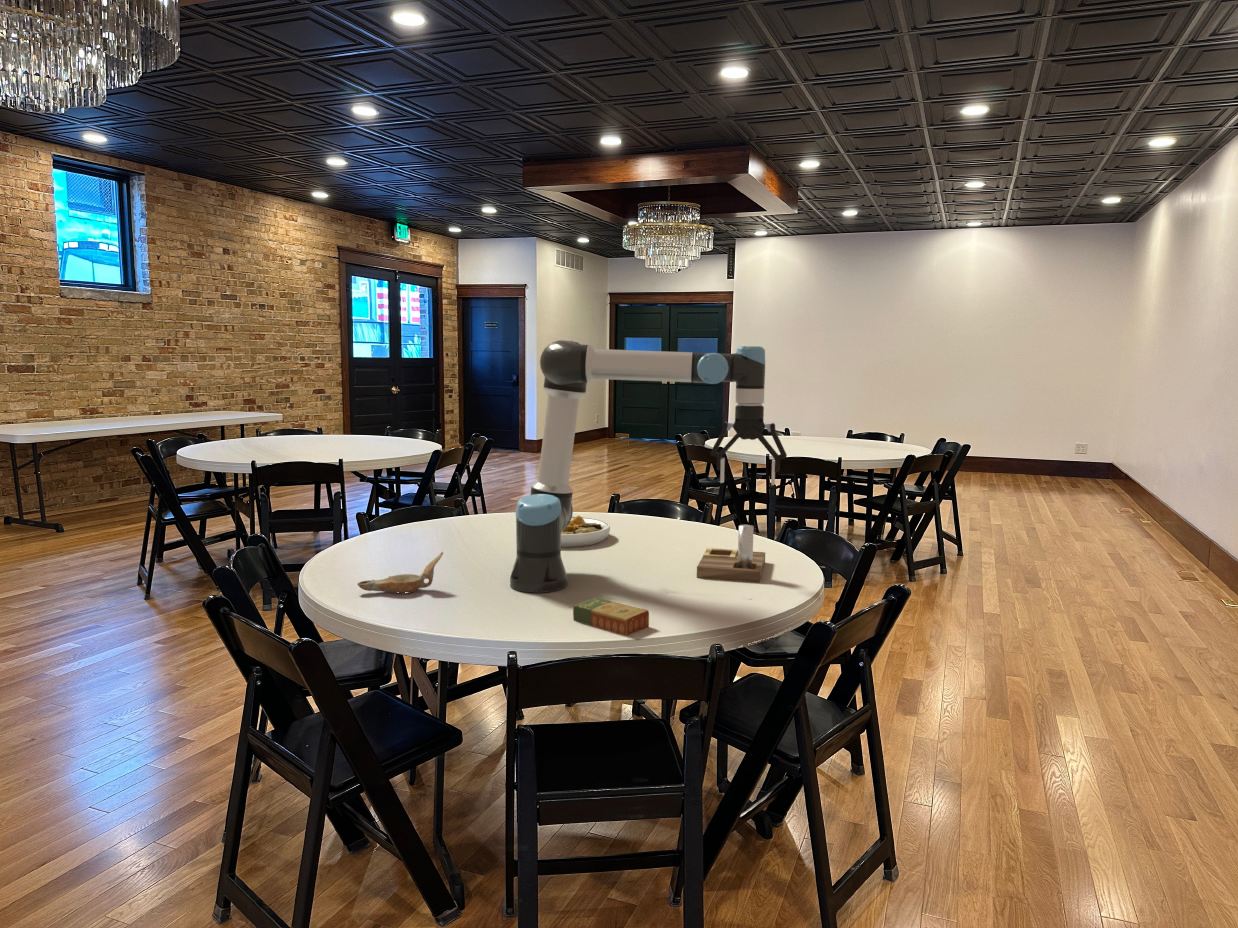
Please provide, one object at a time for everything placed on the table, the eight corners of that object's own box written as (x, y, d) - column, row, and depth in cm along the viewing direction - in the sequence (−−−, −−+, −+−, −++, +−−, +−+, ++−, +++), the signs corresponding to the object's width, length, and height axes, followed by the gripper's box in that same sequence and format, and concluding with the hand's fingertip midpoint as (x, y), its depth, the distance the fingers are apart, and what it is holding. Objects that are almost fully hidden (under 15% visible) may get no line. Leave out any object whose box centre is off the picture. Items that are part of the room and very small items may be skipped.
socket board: (759, 585, 214) (760, 570, 213) (696, 581, 218) (696, 565, 217) (764, 565, 235) (765, 551, 235) (707, 561, 239) (707, 547, 239)
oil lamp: (444, 593, 204) (443, 555, 203) (356, 599, 199) (355, 559, 198) (443, 584, 213) (442, 547, 211) (358, 589, 207) (357, 551, 206)
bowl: (624, 535, 276) (624, 512, 275) (584, 553, 249) (584, 529, 248) (548, 526, 288) (548, 505, 287) (502, 543, 261) (502, 520, 260)
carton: (626, 637, 174) (626, 618, 174) (572, 621, 185) (572, 603, 184) (649, 627, 181) (649, 609, 180) (596, 613, 191) (596, 595, 190)
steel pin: (751, 578, 217) (753, 528, 216) (736, 577, 218) (738, 527, 216) (752, 574, 221) (754, 525, 219) (737, 573, 222) (739, 524, 220)
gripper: (797, 404, 214) (794, 483, 217) (704, 403, 220) (703, 479, 223) (797, 406, 207) (794, 487, 210) (701, 404, 213) (699, 483, 216)
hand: (747, 483), depth 216 cm, fingers open, 13 cm apart
